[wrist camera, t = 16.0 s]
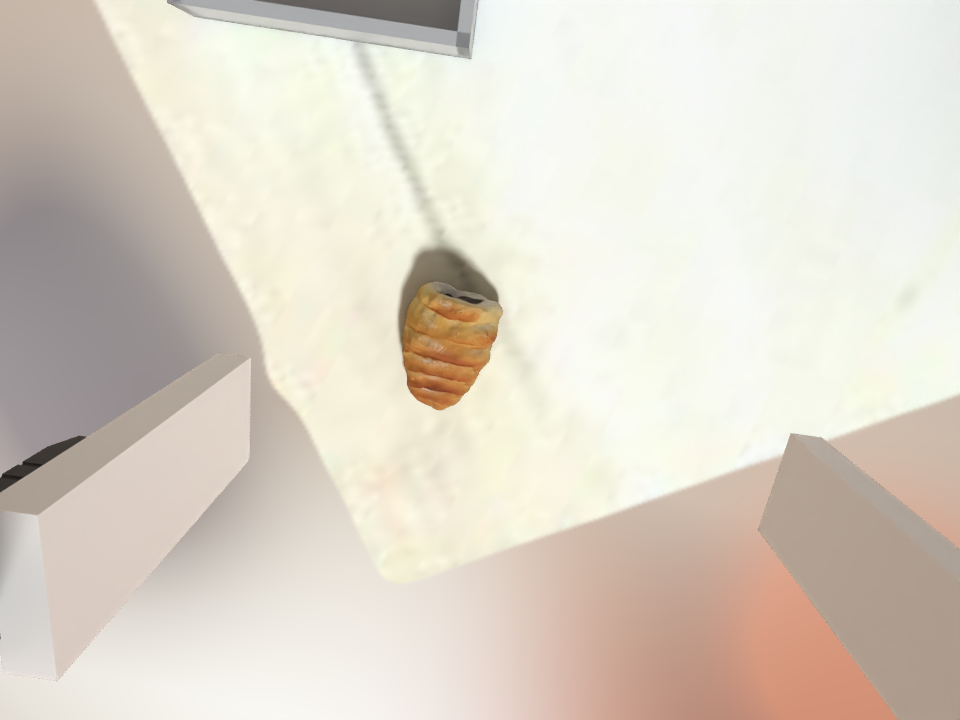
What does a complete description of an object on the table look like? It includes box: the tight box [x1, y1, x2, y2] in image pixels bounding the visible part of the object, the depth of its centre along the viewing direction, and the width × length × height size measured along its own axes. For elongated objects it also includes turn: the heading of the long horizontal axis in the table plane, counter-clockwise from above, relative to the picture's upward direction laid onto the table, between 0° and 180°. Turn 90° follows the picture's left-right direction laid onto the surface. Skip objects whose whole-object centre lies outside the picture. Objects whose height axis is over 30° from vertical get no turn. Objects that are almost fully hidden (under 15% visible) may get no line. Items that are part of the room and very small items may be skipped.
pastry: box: [402, 281, 503, 410], centre depth 41 cm, size 9×7×4 cm
